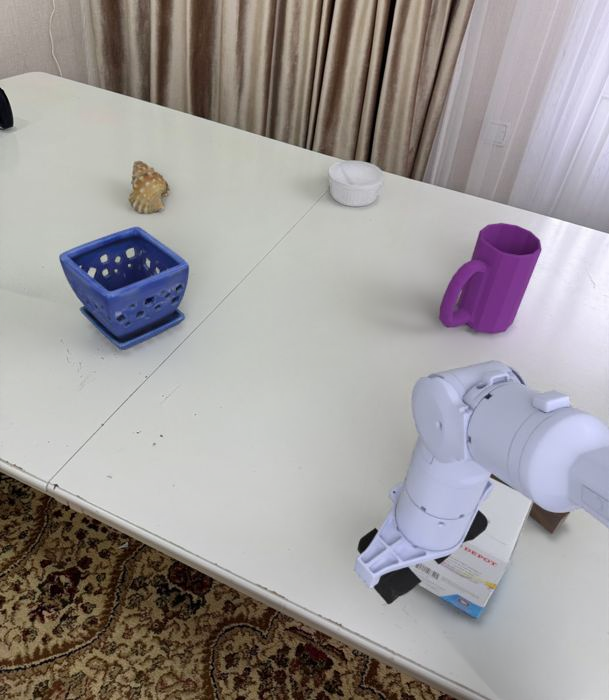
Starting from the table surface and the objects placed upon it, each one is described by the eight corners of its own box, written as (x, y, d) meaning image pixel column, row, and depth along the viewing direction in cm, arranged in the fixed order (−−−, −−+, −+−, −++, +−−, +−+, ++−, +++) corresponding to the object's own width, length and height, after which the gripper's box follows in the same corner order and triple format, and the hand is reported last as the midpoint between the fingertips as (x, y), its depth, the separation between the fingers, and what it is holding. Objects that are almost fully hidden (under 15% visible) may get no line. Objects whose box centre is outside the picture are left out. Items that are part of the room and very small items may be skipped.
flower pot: (145, 285, 101) (137, 221, 93) (195, 326, 94) (191, 261, 86) (70, 319, 94) (54, 252, 85) (119, 366, 87) (106, 299, 79)
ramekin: (314, 194, 127) (316, 170, 123) (349, 177, 133) (352, 154, 130) (357, 216, 122) (360, 192, 118) (390, 197, 128) (395, 174, 125)
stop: (561, 525, 73) (570, 511, 71) (551, 534, 72) (560, 520, 70) (482, 458, 80) (489, 443, 78) (472, 465, 79) (478, 450, 77)
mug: (523, 324, 100) (555, 245, 90) (455, 357, 93) (481, 276, 83) (482, 293, 106) (508, 216, 96) (414, 322, 99) (434, 242, 89)
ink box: (503, 558, 69) (537, 498, 61) (477, 621, 64) (510, 564, 56) (433, 520, 72) (457, 458, 64) (402, 577, 67) (424, 517, 59)
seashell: (121, 216, 121) (111, 163, 119) (159, 211, 126) (150, 160, 124) (142, 214, 114) (132, 158, 112) (181, 209, 119) (172, 155, 117)
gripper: (464, 414, 54) (431, 503, 63) (337, 497, 46) (320, 584, 56) (531, 469, 50) (485, 555, 59) (403, 569, 43) (374, 649, 52)
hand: (409, 573), depth 57 cm, fingers open, 6 cm apart
